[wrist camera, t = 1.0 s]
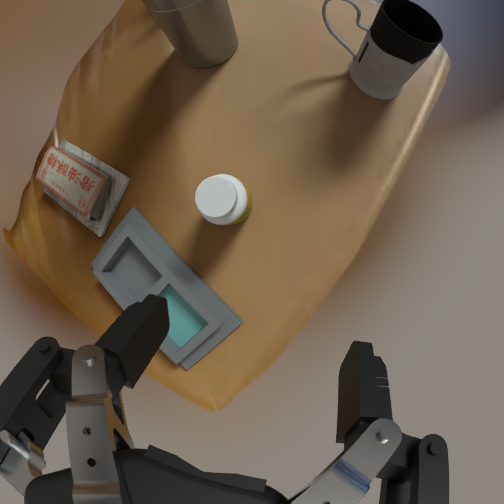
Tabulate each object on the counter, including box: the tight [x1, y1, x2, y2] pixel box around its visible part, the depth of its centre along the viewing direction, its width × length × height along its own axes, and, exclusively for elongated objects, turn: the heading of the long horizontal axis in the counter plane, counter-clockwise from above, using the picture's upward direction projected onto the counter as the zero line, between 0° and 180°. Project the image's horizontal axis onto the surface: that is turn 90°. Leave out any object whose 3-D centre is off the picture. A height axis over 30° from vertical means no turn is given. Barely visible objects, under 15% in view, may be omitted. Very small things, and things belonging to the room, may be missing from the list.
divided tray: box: [91, 207, 243, 370], centre depth 35 cm, size 22×12×3 cm, turn 45°
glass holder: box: [322, 0, 443, 100], centre depth 23 cm, size 9×14×15 cm, turn 71°
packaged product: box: [36, 139, 130, 237], centre depth 35 cm, size 18×5×10 cm
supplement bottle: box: [195, 174, 253, 225], centre depth 30 cm, size 5×5×10 cm
